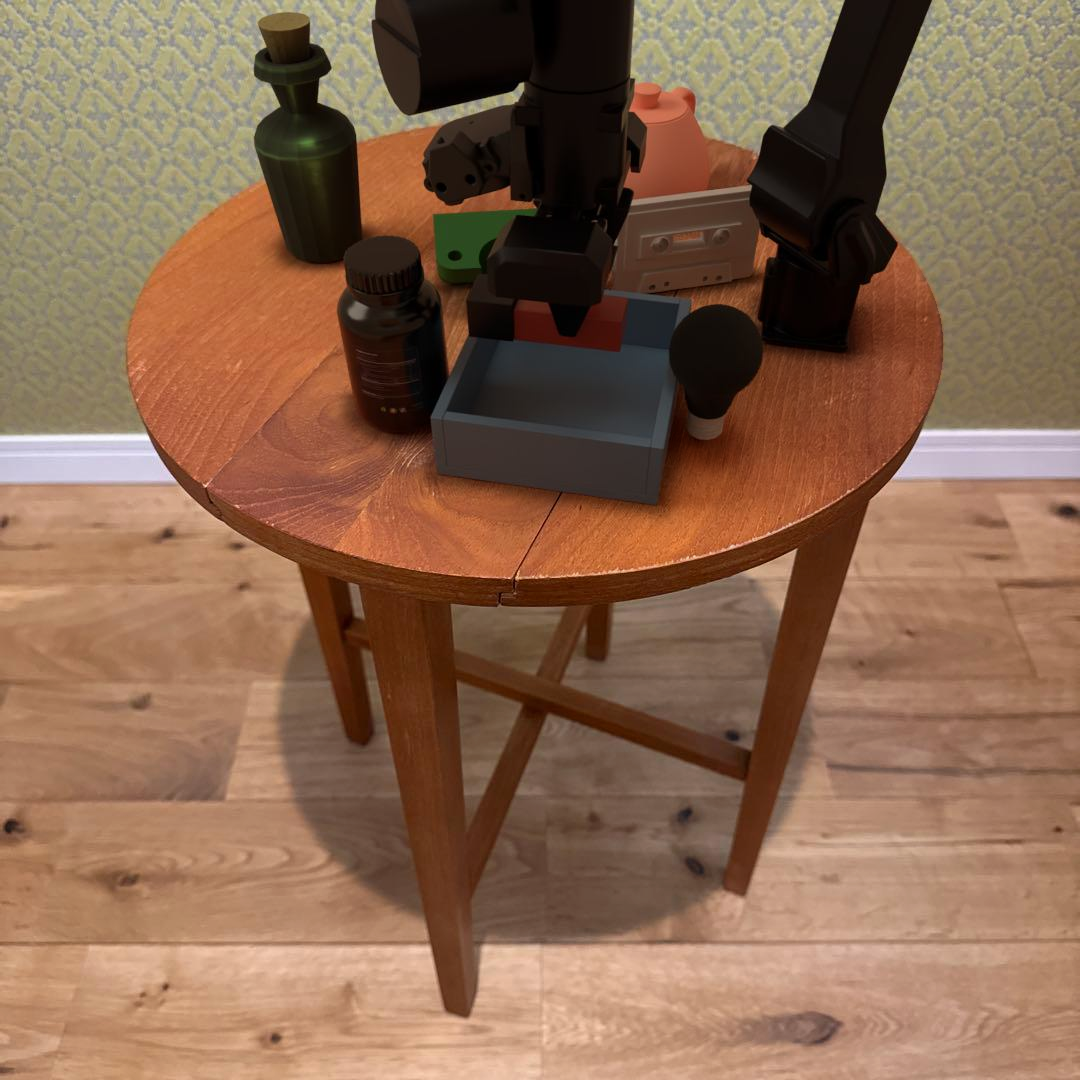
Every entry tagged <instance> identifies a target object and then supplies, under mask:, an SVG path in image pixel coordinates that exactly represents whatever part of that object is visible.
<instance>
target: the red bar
mask: <svg viewBox="0 0 1080 1080" xmlns="http://www.w3.org/2000/svg"><path fill="white" fill-rule="evenodd" d="M465 300H466V302H465V303H466V315H467V316H466V318H467V328H468V329H467V331H468V334H469V337H477V338H485V339H494V340H502V341H511V342H513V340H514V339H515V340H520V341H528V342H537V343H545V344H554V345H562V346H571V347H579V348H588V349H596V350H605V351H613V352H620V350H621V346H622V342H623V338H624V334H625V330H626V322H627V307H628V298H627V297H620V296H611V295H603V297H602V301H601V303H599V304H596V305H594V306H591V307H590V309H589V311H588V313H587V315H586V317H585V319H584V321H583V323H582V325H581V327H580V329H579V331H578V333H577V335H576V336H575V337H566V336H561V335H559V334H558V331H557V328H556V325H555V322H554V319H553V316H552V313H551V310H550V307H549V304H548V303H546V302H537V301H528V300H519V299H510V298H501V297H495V296H494V295H493V294H492V293H491V292H490V291H488V278H487V275H485V274H478V276H477V279H476V281H475V283H473V284H472V287H471V289H470V292H469V294H468V295H467V297H466V299H465Z"/></svg>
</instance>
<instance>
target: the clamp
mask: <svg viewBox="0 0 1080 1080" xmlns="http://www.w3.org/2000/svg"><path fill="white" fill-rule="evenodd" d="M536 211H537V207H535V208H518V209H501V210H499V209H498V210H482V211H467V212H466V211H465V212H448V213H433V214H432V220H433V235H434V247H435V261H436V271H437V275H438V277H439V279H440V280H441V281H442V282H444V283H446V284H449V285H467V284H468V285H469V284H474V283H475V281H476V279H477V276H478V274H485V275H487V258H488V256H489V254H490V252H491V249H492V247H493V245H494V243H495V241H496V239H497V237H498V235H499V232H500V230H501V228H503V227H504V226H505V225H506V224H507V223H508V222H509V221H510V220H512V219H513V218H514V217H515V216H516V215H525V216H535V213H536Z"/></svg>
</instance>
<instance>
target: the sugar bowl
mask: <svg viewBox="0 0 1080 1080" xmlns="http://www.w3.org/2000/svg"><path fill="white" fill-rule="evenodd" d="M696 104H697V99H696V94H695V93H694V91H692V90H691V89H689V88H687V87H683V86H681V87H675V88H674V89H672V90H671V91H670V92H669V91H666V90H663V88H662V87H661V85H659V84H657V83H654V82H648V81H645V82H638V83H635V89H634V98H633V101H632V104H631V107H630V110H628V111H629V112H635V113H636V115H637V116H638V117H639V118H640V119H641V120H642V122H643V123H644V124H645V125H646V126H647V140H646V153H645V158H644V161H643V165H642V168H641V171H640V173H632V172H631V170H630V168H629V171H628V174H627V177H626V180H625V184H624V187H626V188H630V189H632V190H633V191H634V196H633V200H636V199H644V198H652V197H660V196H668V195H676V194H684V193H692V192H700V191H706V190H707V188H708V185H709V183H710V176H711V163H710V162H711V161H710V155H709V149H708V144H707V141H706V137H705V135H704V133H703V130H702V128H701V126H700V123H699V122H698V120H697V118H696V116H695V113H696V107H697V105H696ZM630 156H631V154H630Z"/></svg>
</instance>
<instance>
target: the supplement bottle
mask: <svg viewBox="0 0 1080 1080" xmlns="http://www.w3.org/2000/svg"><path fill="white" fill-rule="evenodd" d="M421 255H422V254H421V250H420V249H419V246H418V245H417V244H416V243H415V242H414V241H412V240H411V239H408V238H407V237H402V236H400V235H393V234H383V235H381V234H379V235H375V236H369V237H365V238H362V240H360V241H358V242H356V243H355V244H352V246H351V247H349V248H348V250H347V251H345V255H344V258H343V267H344V272H345V275H344V277H345V279H344V280H345V284H346V287H345V288H344V289H343V290H342V293H341V294H340V296H339V298H338V301H337V306H336V313H337V315H336V316H337V320H338V326H339V332H340V336H341V342H342V347H343V351H344V356H345V362H346V367H347V373H348V377H349V381H350V386H351V387H350V388H351V391H352V392H351V393H352V396H353V401H354V406H355V409H356V411H357V413H358V415H359V417H360V418H361V419H362V420H363V421H364V423H367V424H368V425H370V426H371V427H372V428H375V429H377V430H381V431H384V432H388V433H399V434H400V433H411V432H415V431H419V430H423V429H426V428H428V427H429V426H431V415H432V413H433V411H434V409H435V407H436V404H437V402H438V400H439V398H440V396H441V393H442V391H443V389H444V387H445V385H446V382H447V380H448V378H449V376H450V366H449V357H448V348H447V338H446V329H445V320H444V309H443V302H442V298H441V295H440V293H439V291H438V289H437V288H436V287H435V285H434V284H433V283H432V282H431V281H430V280H428V278H426V277H425V268H424V266H423V264H422V256H421Z"/></svg>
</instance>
